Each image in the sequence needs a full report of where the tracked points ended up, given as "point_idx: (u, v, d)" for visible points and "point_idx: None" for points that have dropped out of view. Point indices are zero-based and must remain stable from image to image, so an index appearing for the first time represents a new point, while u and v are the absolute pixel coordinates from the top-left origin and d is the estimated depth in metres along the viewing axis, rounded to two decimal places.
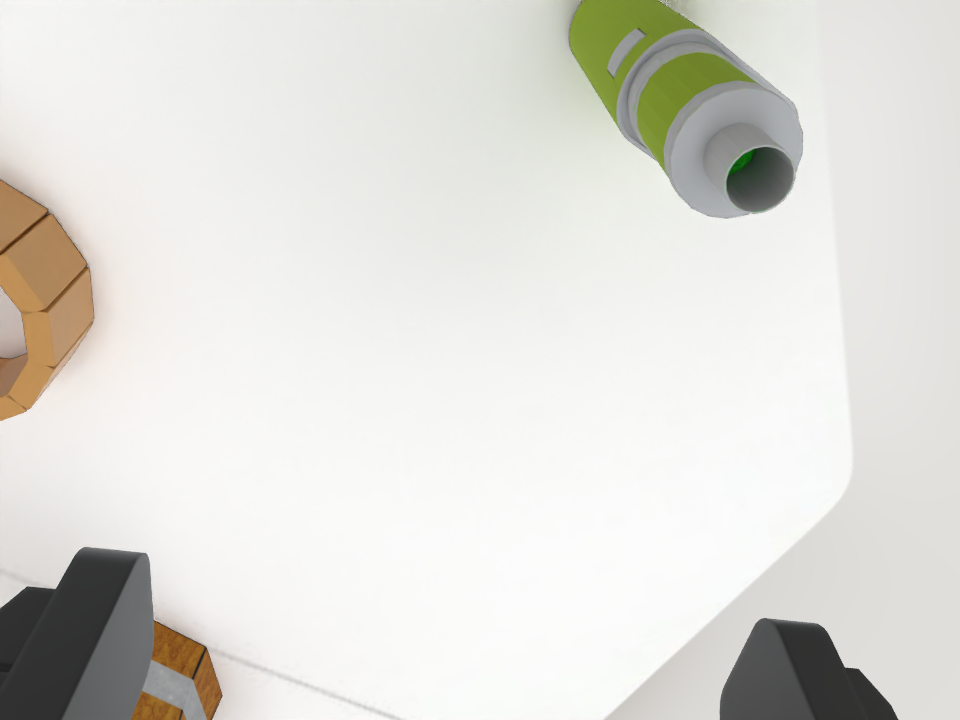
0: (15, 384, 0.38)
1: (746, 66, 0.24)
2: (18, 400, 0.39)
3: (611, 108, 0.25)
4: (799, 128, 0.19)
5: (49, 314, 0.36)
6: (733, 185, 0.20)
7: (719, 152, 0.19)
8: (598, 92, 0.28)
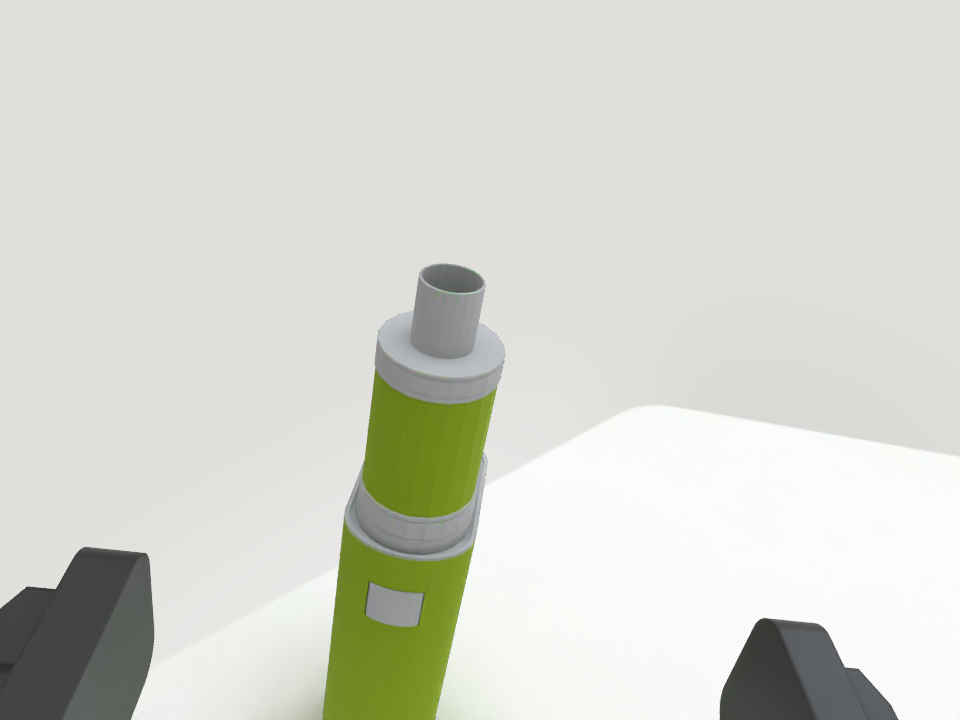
0: None
1: (360, 475, 0.24)
2: None
3: (454, 579, 0.22)
4: (395, 317, 0.21)
5: None
6: None
7: (446, 327, 0.19)
8: (444, 647, 0.24)
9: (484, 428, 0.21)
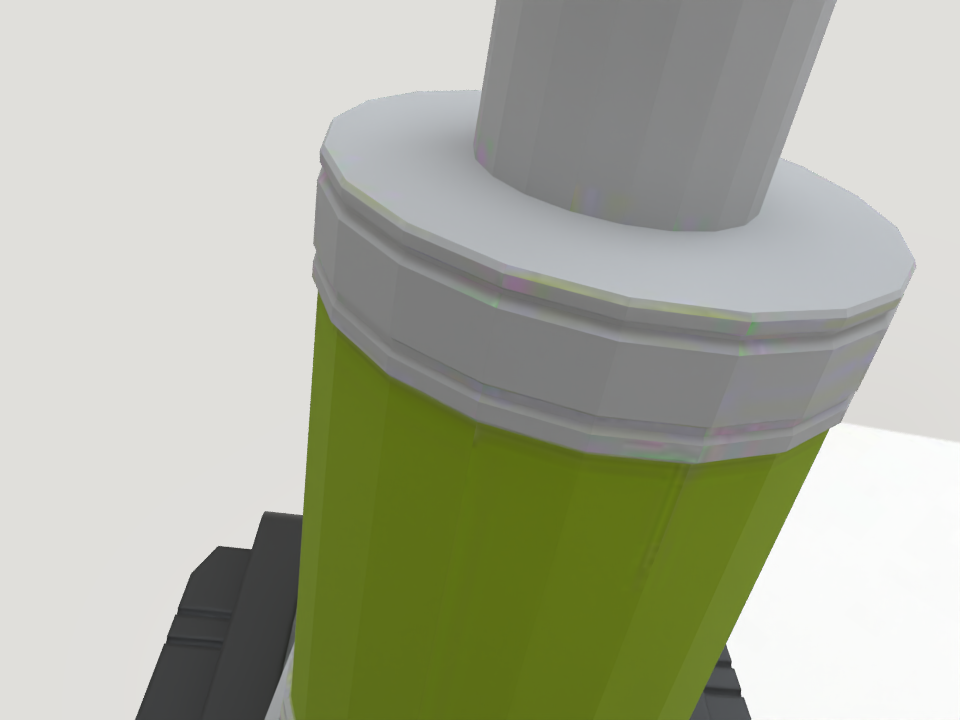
0: None
1: None
2: None
3: None
4: (406, 99, 0.05)
5: None
6: None
7: (698, 39, 0.03)
8: None
9: None
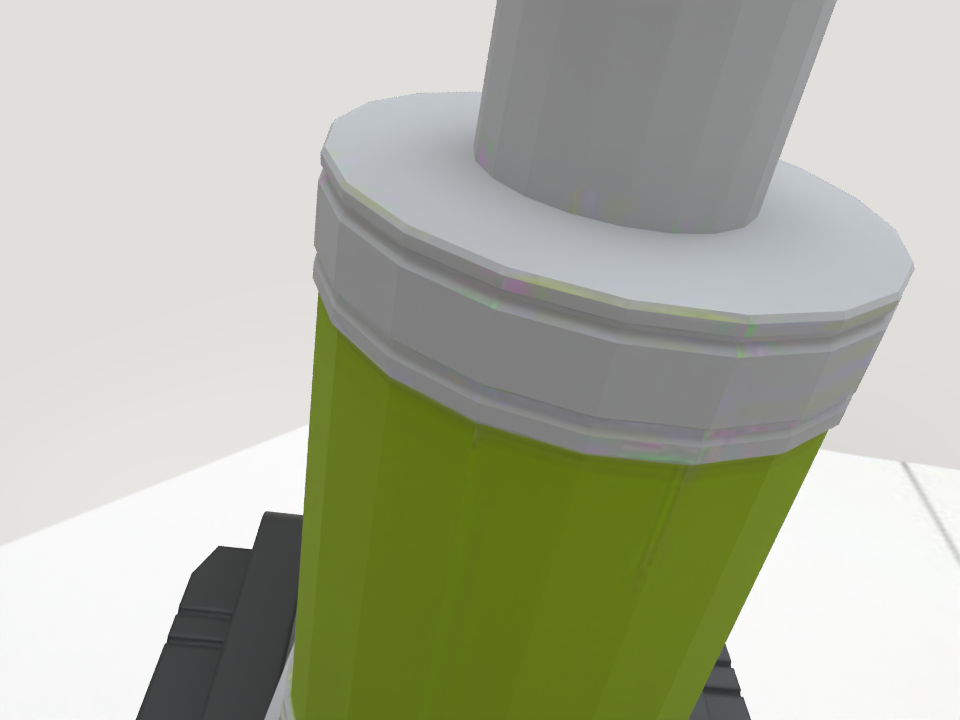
0: None
1: None
2: None
3: None
4: (406, 100, 0.05)
5: None
6: None
7: (697, 42, 0.03)
8: None
9: None
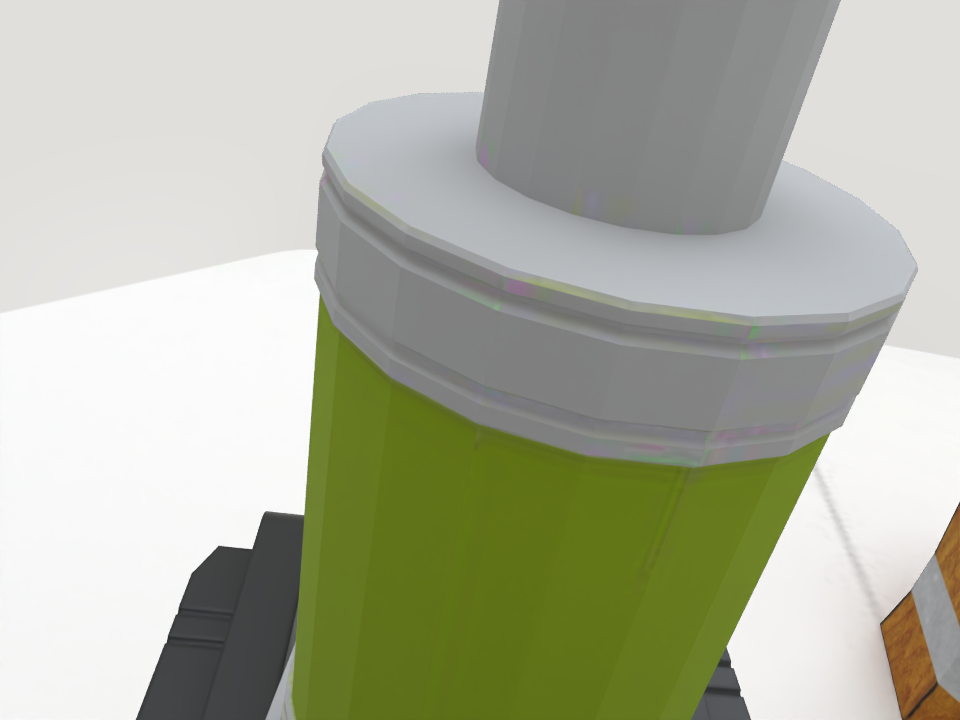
0: None
1: None
2: None
3: None
4: (408, 101, 0.05)
5: None
6: None
7: (700, 43, 0.03)
8: None
9: None
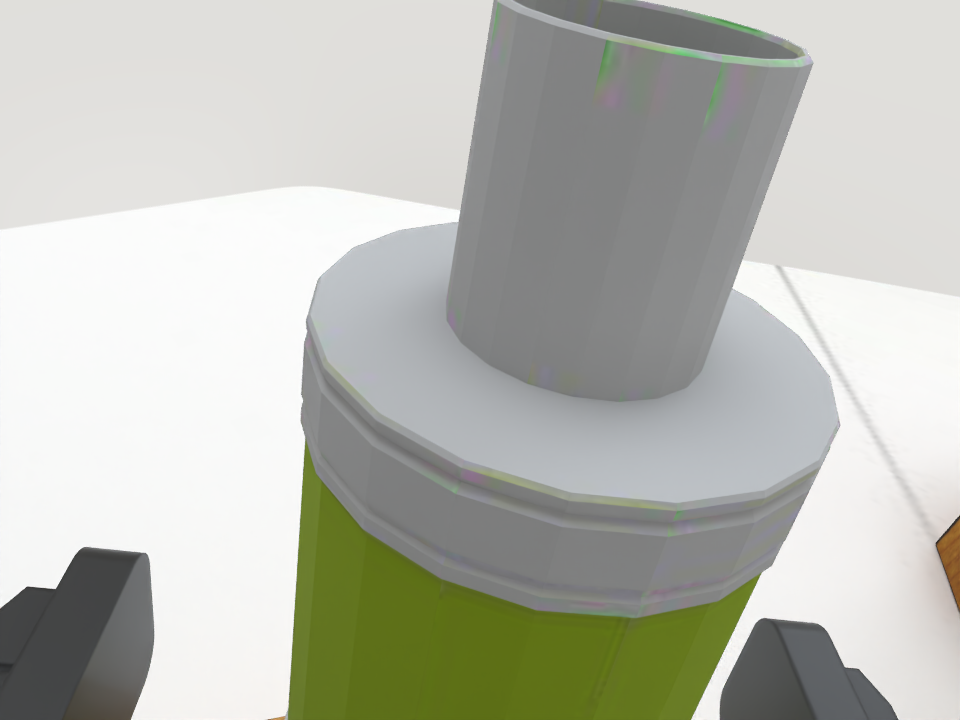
0: None
1: None
2: None
3: None
4: (388, 239, 0.06)
5: None
6: None
7: (634, 252, 0.04)
8: None
9: None
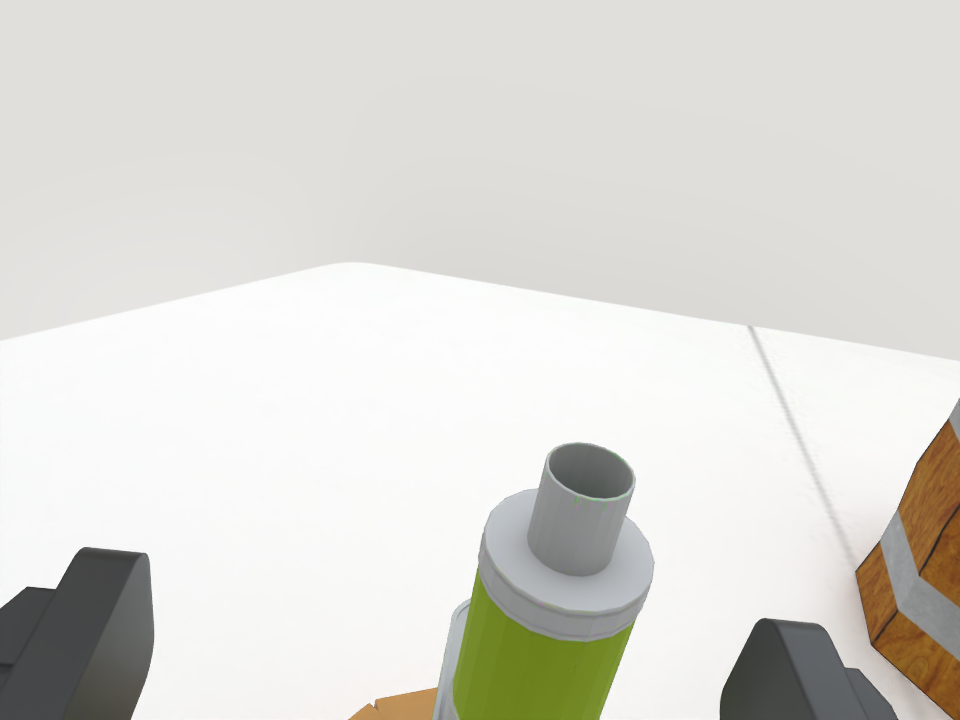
0: None
1: (442, 677, 0.19)
2: None
3: None
4: (502, 503, 0.16)
5: (377, 699, 0.27)
6: None
7: (585, 540, 0.14)
8: None
9: None
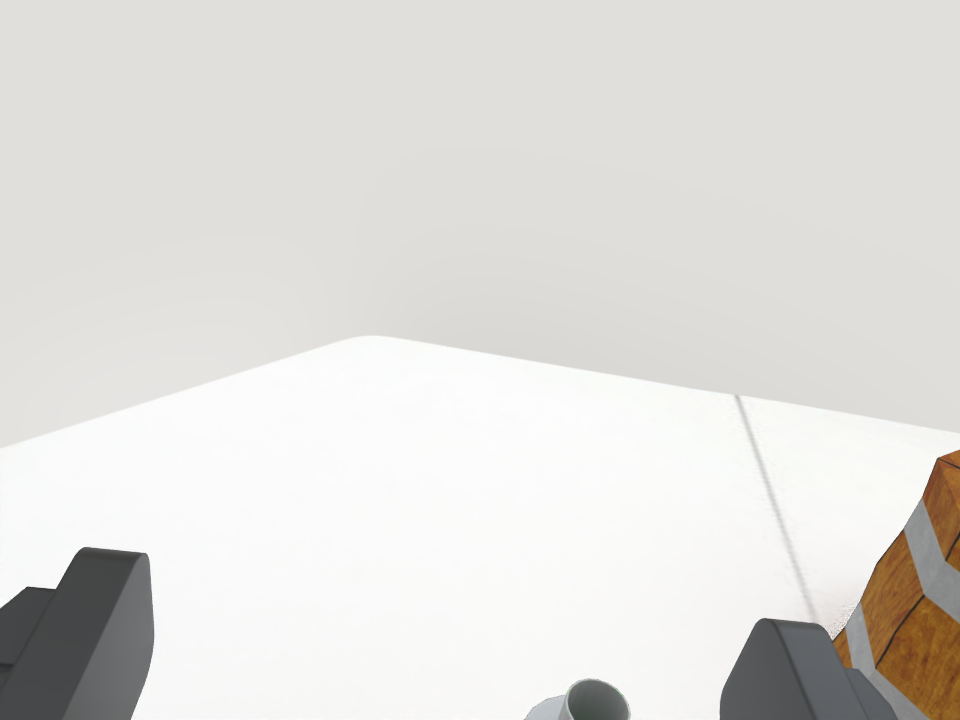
0: None
1: None
2: None
3: None
4: (531, 712, 0.21)
5: None
6: None
7: None
8: None
9: None
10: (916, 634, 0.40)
